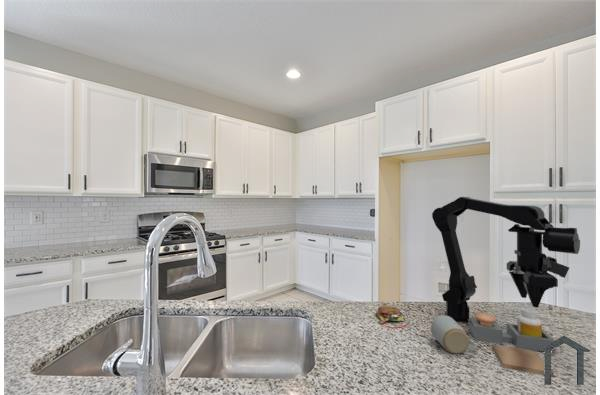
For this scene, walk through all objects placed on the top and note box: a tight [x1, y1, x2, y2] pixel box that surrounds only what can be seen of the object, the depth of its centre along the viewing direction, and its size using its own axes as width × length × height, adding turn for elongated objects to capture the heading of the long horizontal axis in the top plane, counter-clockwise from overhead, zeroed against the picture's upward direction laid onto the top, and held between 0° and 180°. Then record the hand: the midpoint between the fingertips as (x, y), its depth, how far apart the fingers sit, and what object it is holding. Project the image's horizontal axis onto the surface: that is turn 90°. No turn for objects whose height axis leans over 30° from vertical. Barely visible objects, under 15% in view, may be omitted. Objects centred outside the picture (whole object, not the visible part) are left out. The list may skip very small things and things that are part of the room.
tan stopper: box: [474, 311, 497, 327], centre depth 85 cm, size 5×5×6 cm
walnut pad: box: [491, 343, 555, 378], centre depth 72 cm, size 10×10×1 cm
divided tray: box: [469, 316, 556, 355], centre depth 83 cm, size 19×9×4 cm, turn 69°
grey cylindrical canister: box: [430, 314, 478, 355], centre depth 78 cm, size 11×8×8 cm
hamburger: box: [375, 305, 409, 329], centre depth 97 cm, size 14×14×6 cm
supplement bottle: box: [517, 307, 543, 338], centre depth 81 cm, size 5×5×10 cm
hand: (529, 302), depth 81 cm, fingers open, 8 cm apart
